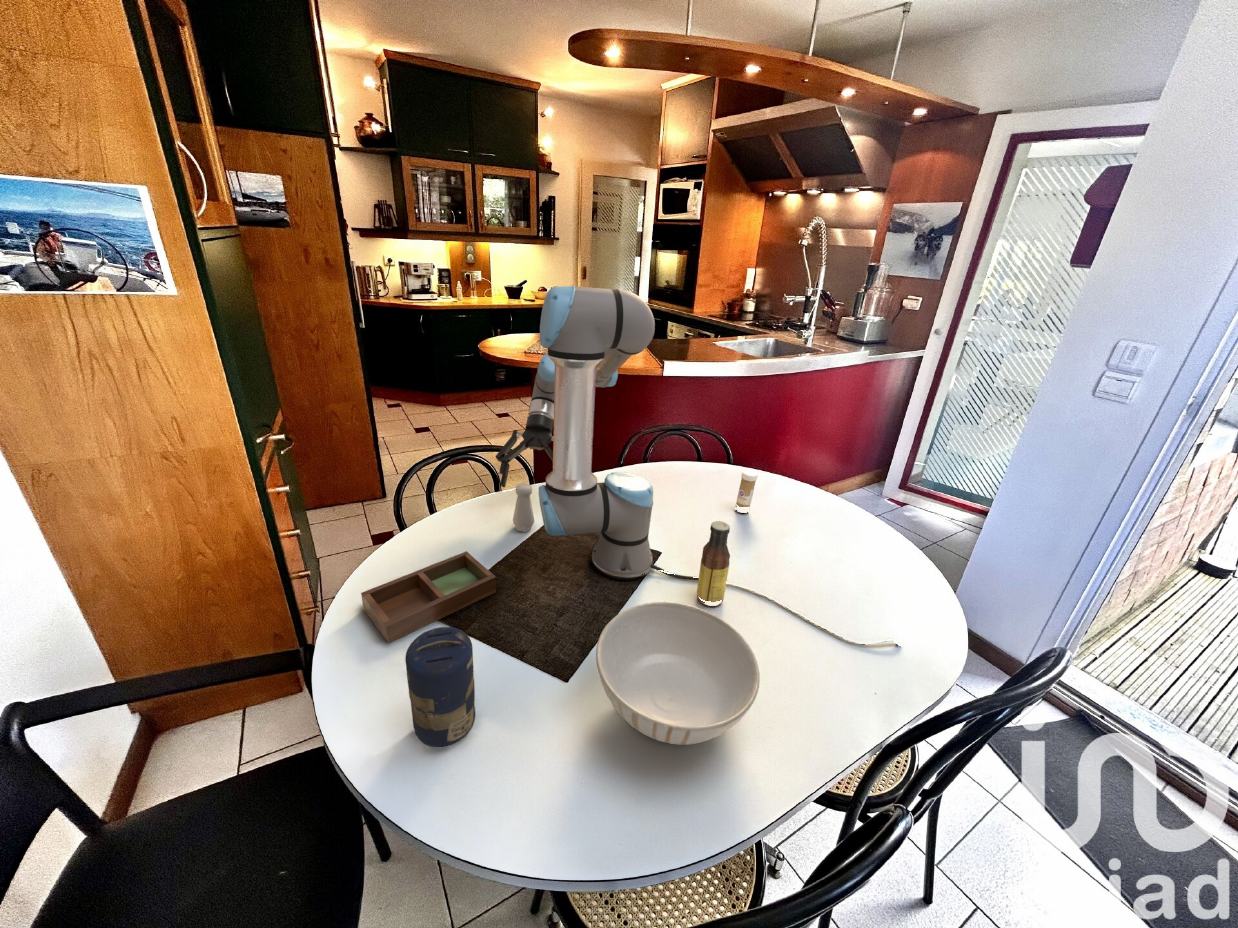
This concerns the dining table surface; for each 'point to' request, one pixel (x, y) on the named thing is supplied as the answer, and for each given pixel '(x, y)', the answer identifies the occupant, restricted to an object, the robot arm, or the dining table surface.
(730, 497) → the dining table surface
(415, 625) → the wooden compartment tray
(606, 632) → the decorative bowl
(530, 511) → the salt shaker
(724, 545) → the sauce bottle
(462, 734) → the canister
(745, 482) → the sprinkles bottle
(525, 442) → the robot arm
